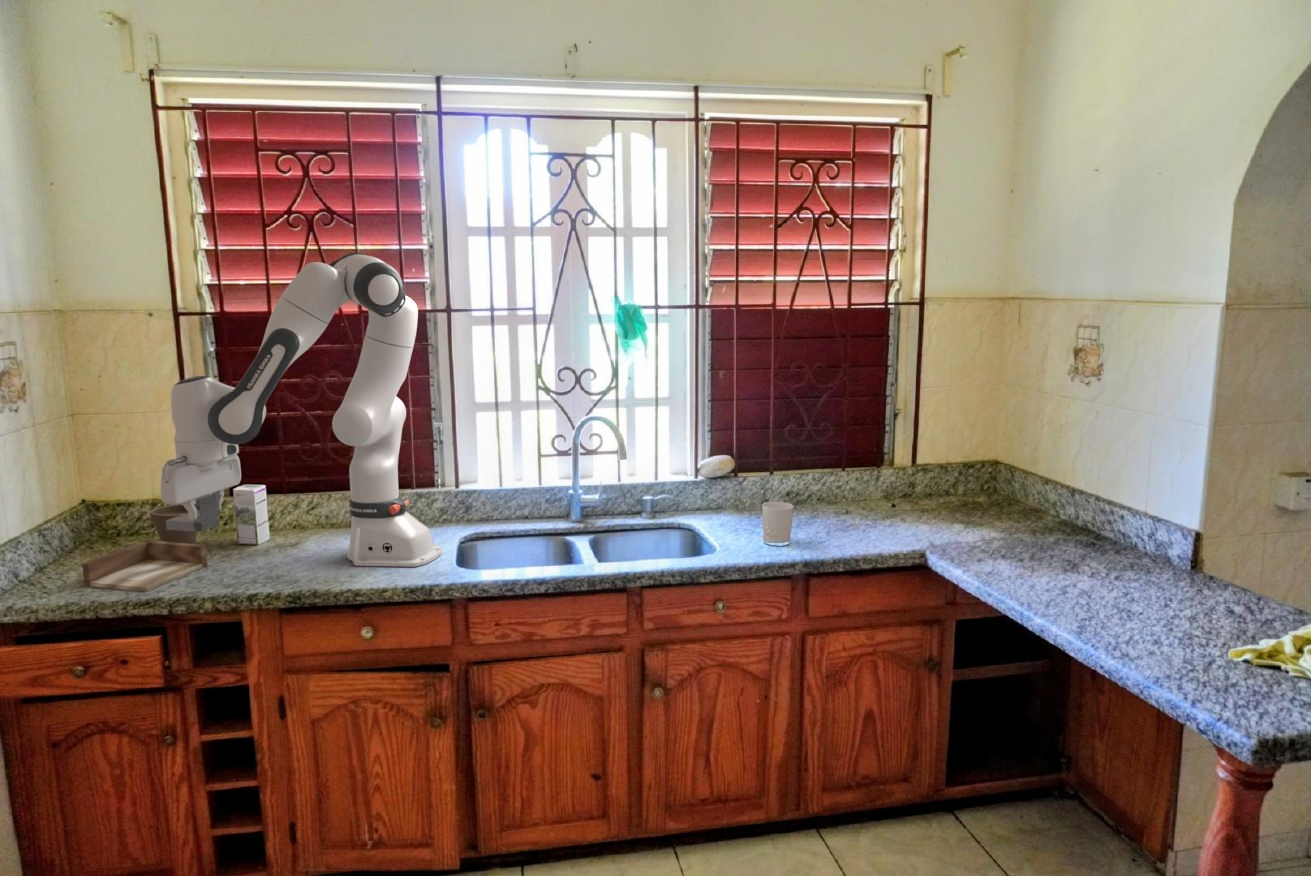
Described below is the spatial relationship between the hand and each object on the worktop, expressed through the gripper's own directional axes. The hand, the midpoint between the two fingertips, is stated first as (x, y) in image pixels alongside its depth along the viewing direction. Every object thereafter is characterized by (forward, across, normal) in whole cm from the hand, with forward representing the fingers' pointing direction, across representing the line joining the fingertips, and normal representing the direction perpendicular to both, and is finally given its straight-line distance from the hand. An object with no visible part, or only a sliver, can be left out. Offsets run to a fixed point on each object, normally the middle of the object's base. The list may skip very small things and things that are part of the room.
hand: (205, 514), depth 188 cm
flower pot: (+15, +20, +25) cm, 36 cm away
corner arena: (+15, +1, +17) cm, 23 cm away
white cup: (+17, +60, -118) cm, 134 cm away
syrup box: (+16, +29, +11) cm, 35 cm away
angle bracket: (+3, 0, +4) cm, 5 cm away
